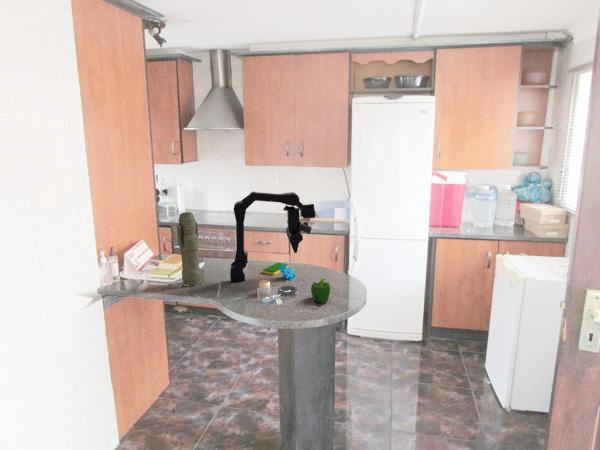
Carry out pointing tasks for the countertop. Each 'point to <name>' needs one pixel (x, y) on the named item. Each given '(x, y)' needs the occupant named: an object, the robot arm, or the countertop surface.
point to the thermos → (189, 249)
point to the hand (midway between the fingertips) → (294, 250)
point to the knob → (264, 287)
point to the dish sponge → (274, 269)
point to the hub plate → (280, 292)
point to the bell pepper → (320, 291)
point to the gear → (287, 272)
